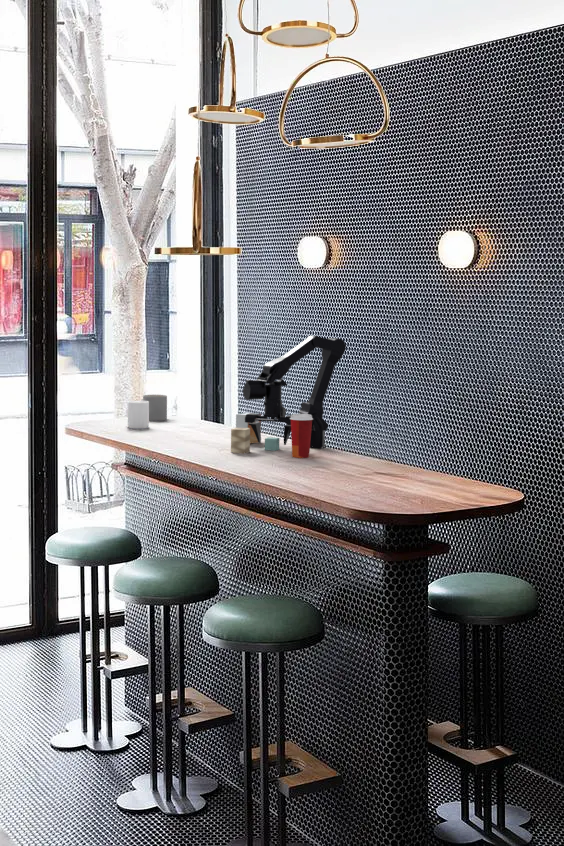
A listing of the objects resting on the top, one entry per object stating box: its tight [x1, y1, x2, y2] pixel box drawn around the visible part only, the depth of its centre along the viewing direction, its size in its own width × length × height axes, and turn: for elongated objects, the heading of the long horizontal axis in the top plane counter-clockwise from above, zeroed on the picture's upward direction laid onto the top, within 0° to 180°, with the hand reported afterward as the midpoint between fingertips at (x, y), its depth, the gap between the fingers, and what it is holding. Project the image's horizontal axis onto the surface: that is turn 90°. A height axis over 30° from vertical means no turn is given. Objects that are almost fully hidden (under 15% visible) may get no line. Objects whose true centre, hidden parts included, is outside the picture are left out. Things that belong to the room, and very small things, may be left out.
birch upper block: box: [230, 427, 250, 442], centre depth 364 cm, size 5×5×4 cm
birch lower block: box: [230, 440, 251, 454], centre depth 364 cm, size 5×5×4 cm
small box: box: [235, 412, 262, 444], centre depth 386 cm, size 8×6×10 cm
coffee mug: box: [140, 394, 168, 422], centre depth 451 cm, size 13×10×10 cm
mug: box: [126, 400, 150, 430], centre depth 424 cm, size 12×8×10 cm
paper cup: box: [289, 413, 313, 459], centre depth 355 cm, size 8×8×14 cm
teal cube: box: [264, 436, 280, 452], centre depth 371 cm, size 4×4×4 cm
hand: (272, 443), depth 371 cm, fingers open, 9 cm apart
